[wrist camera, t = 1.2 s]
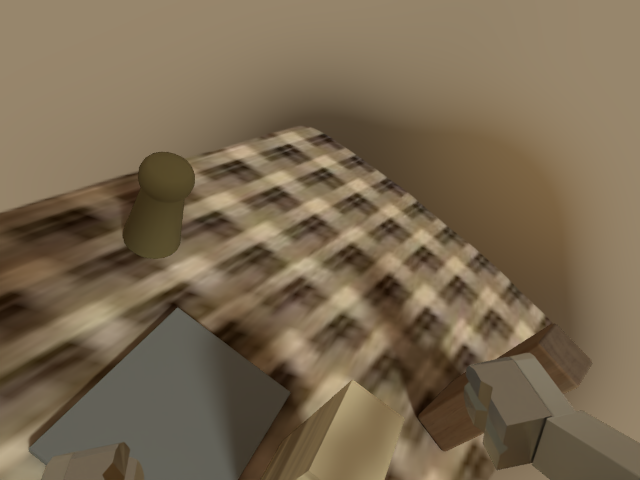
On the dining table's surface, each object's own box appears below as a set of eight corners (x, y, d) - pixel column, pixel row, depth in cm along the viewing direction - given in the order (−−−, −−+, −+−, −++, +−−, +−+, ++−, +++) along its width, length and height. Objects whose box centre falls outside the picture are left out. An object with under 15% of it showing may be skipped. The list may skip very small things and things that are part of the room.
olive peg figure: (173, 264, 47) (196, 194, 39) (115, 250, 45) (127, 173, 38) (185, 225, 51) (207, 155, 44) (131, 210, 49) (145, 134, 42)
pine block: (239, 517, 34) (308, 470, 25) (282, 441, 40) (352, 379, 30) (284, 552, 34) (371, 518, 25) (321, 471, 39) (404, 418, 30)
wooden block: (454, 378, 53) (570, 302, 41) (480, 410, 52) (608, 340, 40) (415, 417, 47) (537, 341, 35) (443, 454, 46) (580, 387, 34)
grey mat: (29, 451, 31) (28, 448, 31) (176, 311, 43) (177, 307, 43) (180, 571, 31) (182, 570, 30) (287, 395, 43) (290, 392, 42)
